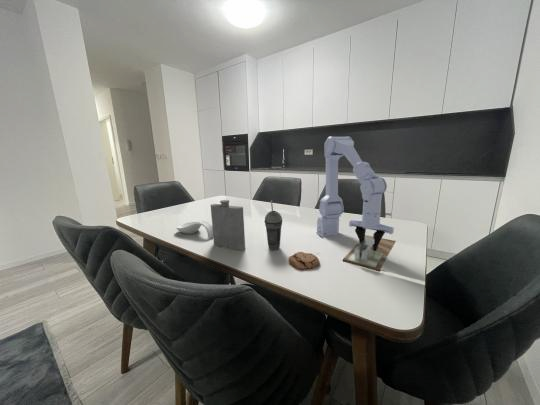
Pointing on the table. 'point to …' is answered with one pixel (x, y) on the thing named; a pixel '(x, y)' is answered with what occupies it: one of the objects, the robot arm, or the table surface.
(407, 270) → the table surface
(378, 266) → the stand
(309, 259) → the cookie
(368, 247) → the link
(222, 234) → the hip flask
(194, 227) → the white curved piece
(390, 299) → the table surface
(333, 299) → the table surface
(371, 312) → the table surface
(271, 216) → the beverage cup
